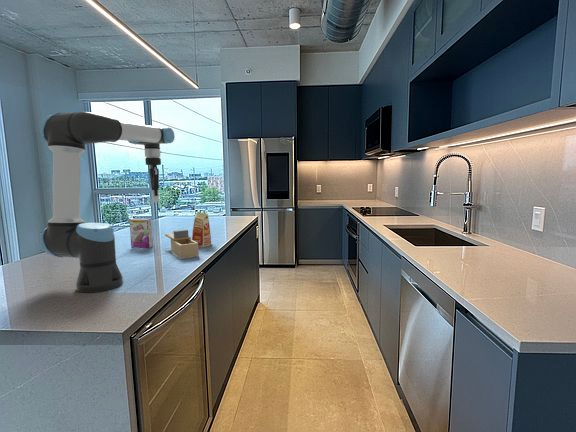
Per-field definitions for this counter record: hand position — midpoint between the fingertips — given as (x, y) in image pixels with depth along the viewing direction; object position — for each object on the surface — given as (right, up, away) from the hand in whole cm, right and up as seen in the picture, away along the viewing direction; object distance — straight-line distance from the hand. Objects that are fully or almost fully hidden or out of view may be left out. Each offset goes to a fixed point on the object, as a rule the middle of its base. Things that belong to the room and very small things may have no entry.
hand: (156, 202), depth 174 cm
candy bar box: (-13, -26, +13) cm, 32 cm away
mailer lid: (+10, -19, +4) cm, 22 cm away
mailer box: (+17, -27, -5) cm, 33 cm away
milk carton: (+21, -25, +16) cm, 36 cm away
